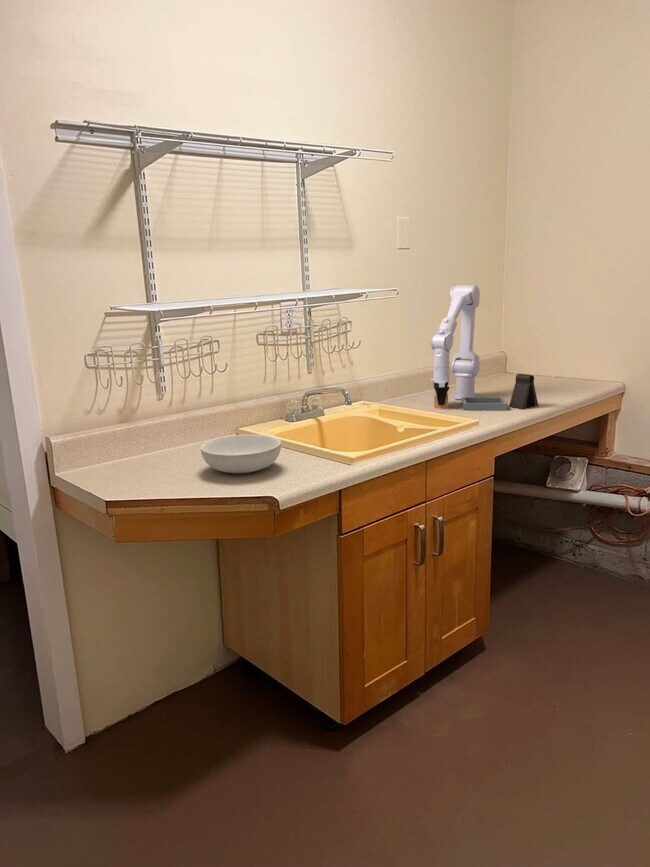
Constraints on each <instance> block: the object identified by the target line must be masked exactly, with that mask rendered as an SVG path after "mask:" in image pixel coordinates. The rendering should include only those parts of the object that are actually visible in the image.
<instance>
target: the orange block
mask: <svg viewBox="0 0 650 867" xmlns="http://www.w3.org/2000/svg"><path fill="white" fill-rule="evenodd" d="M433 396H434V397H433V409H434V408H437V409H438V408H440V409H441V408H445V409H446V408H448V409H449V393H448V392H447V395H446V399H445V404H444V405H438V400H437V394H436V392H434V393H433ZM438 410H439V409H438Z"/></svg>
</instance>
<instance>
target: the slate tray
mask: <svg viewBox="0 0 650 867" xmlns="http://www.w3.org/2000/svg"><path fill="white" fill-rule="evenodd" d="M461 406H462V409H463V411H464V410H467V411H468V412H469V411H474V412H475V411H477V412H478V411H479V412H480V411H484V410H486V411H488V410H489V411H492V412H493V411H501V412H502V411H504V410H505V411H506V410H507V409H508V408H507V406H508V404H507V402H506V400H505V399H504V397H502V396H498V397H497V396H490V397H489V396H488V397H487V396H486V397H484V396H483V397H481V396H480V397H479V396H475V397H462V399H461Z"/></svg>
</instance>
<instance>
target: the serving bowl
mask: <svg viewBox="0 0 650 867" xmlns="http://www.w3.org/2000/svg"><path fill="white" fill-rule="evenodd" d="M281 447H282V441H281V439H279V438H277V437H275V436H273V435H265V434H233V435H225V436H222V437H218V438H214V439H211V440H207V441H206V442H204V443H202V444H201V446H200V452H201V455H202V458H203V460H204V462H205V463H206V464H207V465H208V466H209V467H211V468H212V469H215V470H216V471H220V472H222V473H228V474H250V473H254V472H256V471H260V470H264V469H265V468H268V467H269V466H271V465H272V464H273V463H274V462H275V461H276V460H277V459H278V458H279V456H280V453H281V449H282V448H281Z"/></svg>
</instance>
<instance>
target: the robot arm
mask: <svg viewBox="0 0 650 867" xmlns="http://www.w3.org/2000/svg"><path fill="white" fill-rule="evenodd" d="M480 295H481V291H480V288H479V287H478V285H477V284H471V285H467V284H466V285H453V286H451V289H450V291H449V298H450V305H449V307H448V312H447V315H446V316H445V317H444V318H442V320H441V323H440V325H439V327H438V330H437V333H436V334H434V335H433V336H432V338H431V341H430V347H431V350H432V351H431V353H432V355H433V378H430V380H429V381H430V382H433V388H434V391H435V393H436V394H437V400H438V405H444V404H445V399H446V395H447V393H448V392H449V390H450V386H449V384H450V383H449V382H450V381H451V379H450V359H451V358H450V353H451V352H450V351H451V349H452V347H453V344H454V333H455V331H456V329H457V327H458V322H457V319H458V318H459V315H460V313H461V323H460V325H461V326H460V339H459V340H460V342H459V351H457V352H456V353H455V354H454V355H453V359H452V363H451V371H452V373H453V374H454V376H455V394H454V395H453V396H454V399H455V400H462V397H476V395H475V388H476V387H475V383H476V382H475V378H476V376H477V375H478V374H479V373H480V369H481V364H480V356H479V354H477V353H476V352H475V351H474V350H473V349H474V336H475V334H474V333H475V320H476V309H477V308H478V307H479V306H480V299H481V298H480Z"/></svg>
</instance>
